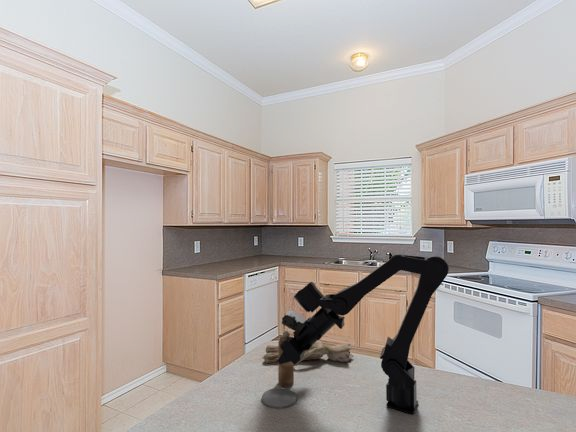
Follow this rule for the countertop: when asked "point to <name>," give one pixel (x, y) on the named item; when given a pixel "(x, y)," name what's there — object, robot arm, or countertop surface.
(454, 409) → the countertop surface
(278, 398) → the coaster
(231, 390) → the countertop surface
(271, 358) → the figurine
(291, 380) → the pepper mill
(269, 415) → the countertop surface
